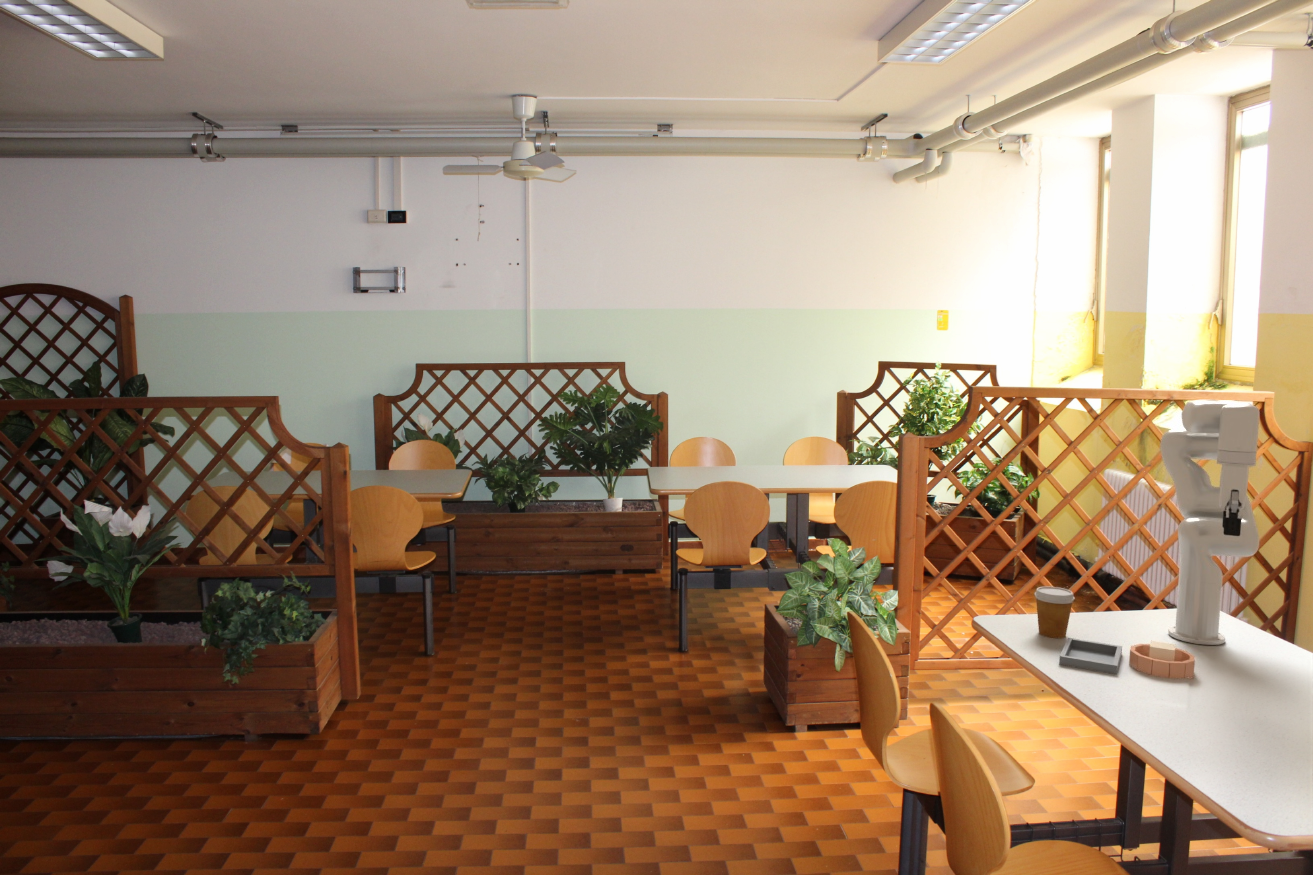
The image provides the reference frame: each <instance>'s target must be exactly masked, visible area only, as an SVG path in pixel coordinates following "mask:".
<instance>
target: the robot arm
mask: <svg viewBox="0 0 1313 875" xmlns="http://www.w3.org/2000/svg"><path fill="white" fill-rule="evenodd" d="M1181 411H1182V412H1181V422H1182V425H1183V427H1177V428H1173V429H1169V430H1167V431H1166V432H1164V433H1163V435H1162V436H1161V438H1160V454H1161V458H1162V461H1163V465H1164V467H1165V469H1166V471H1167V472H1168V475H1169V476H1170V478H1171V479H1172V482H1173V484H1174V491H1175V495H1176V499H1177V504H1178V510H1179V512H1180V515H1181V516H1182V517H1183V518H1184V519H1183V520H1181V521H1180V523H1179V525H1178V528H1177V539H1178V547H1179V548H1178V549H1179V568H1178V569H1179V571H1178V584H1177V585H1178V586H1177V597H1176V598H1177V601H1176V603H1177V604H1176V614H1175V615H1176V616H1175V625H1174V626H1171V627H1169V628H1168V629H1167V630H1168V631H1167V634H1168V635H1169V636H1171V637H1172V638H1173V639H1176V640H1178V641H1182V642H1186V643H1190V644H1196V645H1204V646H1219V645H1223V644H1224V643H1225V642H1226V637H1225V636H1224V635H1223V634H1222V633H1220V632H1219V629H1220V628H1219V627H1220V613H1221V602H1222V588H1223V587H1222V586H1223V572H1222V569H1221V567H1220V566H1219V565H1218V564H1217V563H1216V561H1215V560H1214V558H1213V556H1215V557H1216V556H1217V557H1218V556H1219V557H1220V556H1221V557H1222V556H1223V557H1224V556H1226V557H1235V558H1237V557H1238V558H1248V557H1252V556H1254V555H1255V554H1256V553H1257V552H1258V549H1260V548H1259V547H1260V536H1259V529H1258V526H1257V523H1256V519H1255V516H1254V512H1253V508H1252V504H1251V500H1250V498H1249V497H1248V494H1247V492H1248V484H1249V474H1250V468H1251V467H1252V468H1253V467H1256V466H1257V451H1258V441H1259V440H1258V439H1259V428H1260V426H1259V425H1260V415H1261V414H1260V409H1259V407H1257V406H1255V405H1253V404H1251V403H1249V402H1243V401H1242V402H1241V401H1237V400H1232V399H1231V400H1226V399H1224V400H1223V399H1196V400H1190V401H1187V402H1186V403H1185V405H1184V407H1183V409H1182V410H1181ZM1193 460H1206V461H1207V460H1210V461H1213V460H1214V461H1216V464H1217V465H1221V467H1220V468H1221V469H1220V478H1219V486H1218V487H1217V486H1214V485H1212V482H1211V481H1212V480H1211V476H1210V475H1209V473H1208V472H1207V471H1206V470H1205V469H1204V468H1203V467H1202V466H1201V465H1199V464H1198V463H1197V462H1195V461H1193Z"/></svg>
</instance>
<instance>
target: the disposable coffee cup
mask: <svg viewBox="0 0 1313 875" xmlns="http://www.w3.org/2000/svg"><path fill="white" fill-rule="evenodd" d="M1034 596H1035V600H1036V610H1037V611H1036V612H1037V613H1036V614H1037V624H1038V626H1037V627H1038V633H1039V635H1040V636H1043V637H1046V638H1049V639H1050V638H1051V639H1064V638H1066V636H1067V631H1068V625H1069V622H1070V617H1071V611H1072V606H1073V602H1074V600H1076V598H1075V596H1074V592H1073V591H1072V590H1069V589H1067V588H1063V587H1058V586H1056V587H1055V586H1040V587H1037V588H1036V590H1035V592H1034Z"/></svg>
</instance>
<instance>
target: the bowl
mask: <svg viewBox="0 0 1313 875" xmlns="http://www.w3.org/2000/svg"><path fill="white" fill-rule="evenodd" d="M1150 644H1151V643H1138V644H1134V645H1130V648H1129V661H1128V665H1129V666H1130V667H1132V668H1133V669H1135V670H1136V671H1138V672H1141V673H1144V674H1147V675H1149V676H1155V677H1161V678H1167V679H1187V678H1188V680H1190V679H1194V677H1195V675H1194V674H1195V665H1196V664H1195V663H1196V657H1195V655H1193V653H1191V652H1189V651H1187V650H1184V649H1180V648H1177V647H1175V660H1174V661H1164V660H1158V659H1153V658H1150V657H1149V653H1150Z"/></svg>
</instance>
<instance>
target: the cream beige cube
mask: <svg viewBox="0 0 1313 875" xmlns="http://www.w3.org/2000/svg"><path fill="white" fill-rule="evenodd" d="M1149 644H1150V653H1149V657H1150V658H1153V659H1158V660H1164V661H1174V660H1175V648H1176V644H1174V643H1169V642H1163V641H1157V640H1151V641H1150V643H1149Z"/></svg>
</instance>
